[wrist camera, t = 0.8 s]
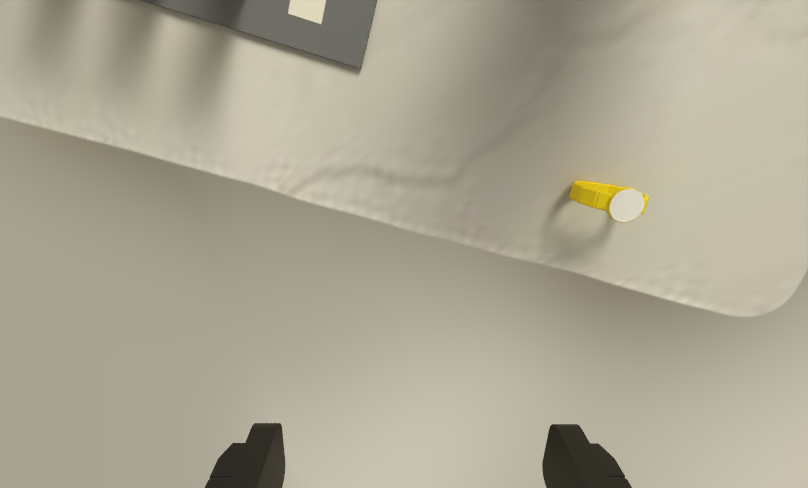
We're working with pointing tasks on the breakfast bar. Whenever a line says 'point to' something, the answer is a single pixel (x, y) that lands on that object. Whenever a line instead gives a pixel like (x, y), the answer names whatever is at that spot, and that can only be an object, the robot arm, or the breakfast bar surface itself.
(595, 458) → the robot arm
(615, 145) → the breakfast bar surface
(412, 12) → the breakfast bar surface
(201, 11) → the mat
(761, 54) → the breakfast bar surface
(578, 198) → the watch
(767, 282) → the breakfast bar surface
